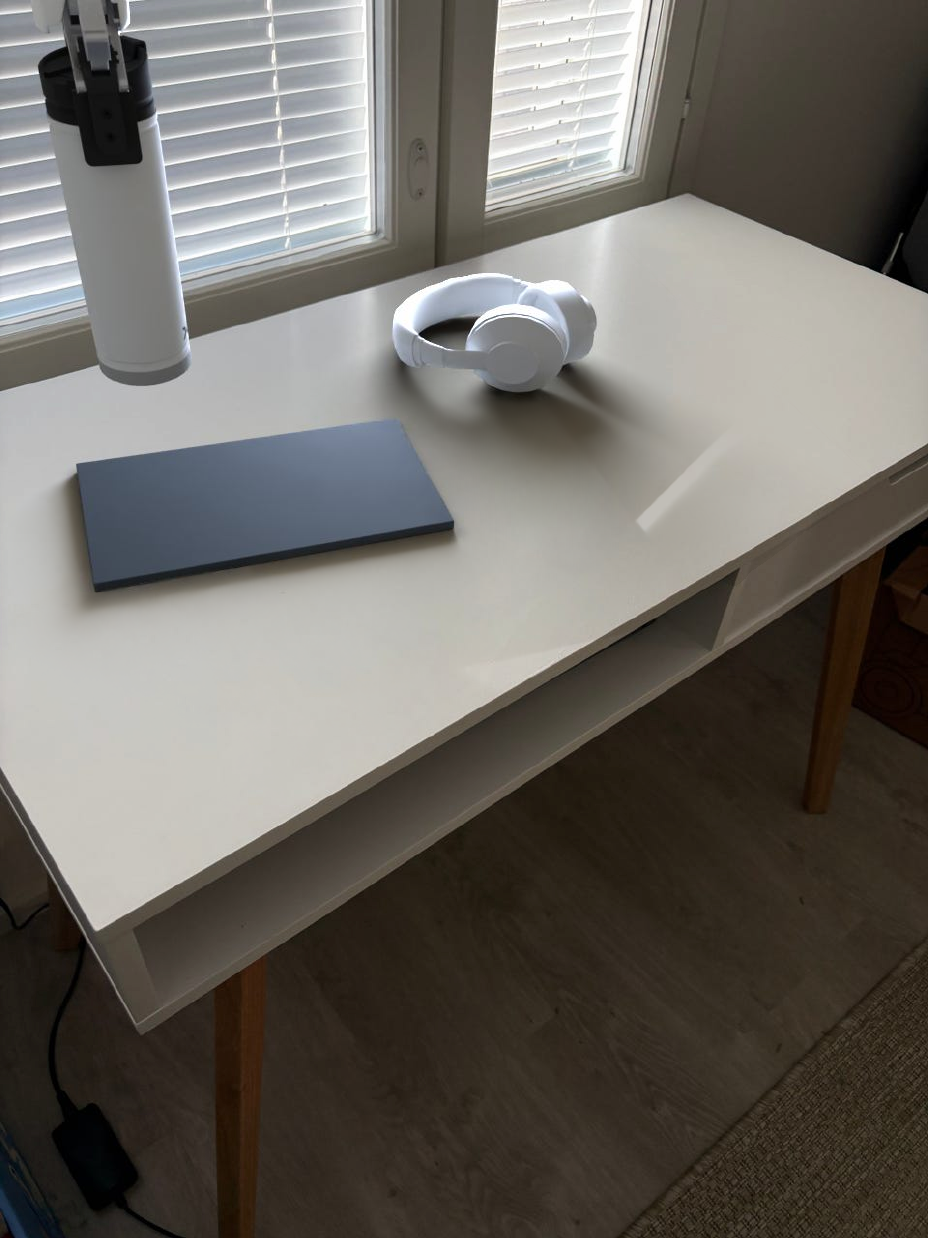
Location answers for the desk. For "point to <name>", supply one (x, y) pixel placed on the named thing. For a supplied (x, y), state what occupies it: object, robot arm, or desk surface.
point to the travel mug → (121, 232)
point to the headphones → (500, 328)
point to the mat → (253, 502)
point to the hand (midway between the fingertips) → (108, 139)
